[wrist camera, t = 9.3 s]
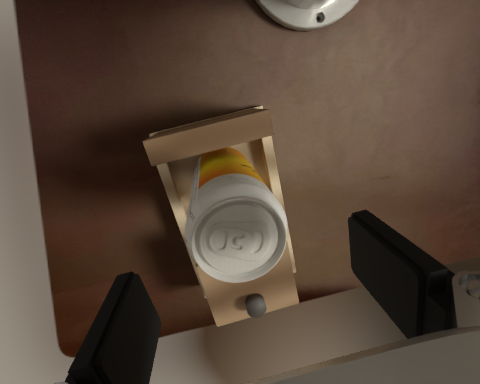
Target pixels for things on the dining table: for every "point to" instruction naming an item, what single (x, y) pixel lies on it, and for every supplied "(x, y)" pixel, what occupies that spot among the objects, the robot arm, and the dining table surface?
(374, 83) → the dining table surface
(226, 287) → the block
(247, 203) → the beer can
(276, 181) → the vise base
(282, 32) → the dining table surface
